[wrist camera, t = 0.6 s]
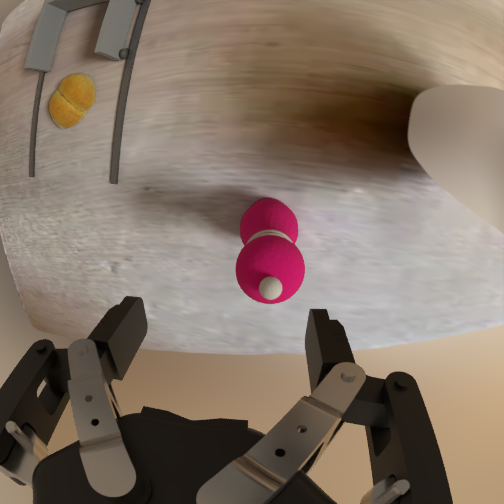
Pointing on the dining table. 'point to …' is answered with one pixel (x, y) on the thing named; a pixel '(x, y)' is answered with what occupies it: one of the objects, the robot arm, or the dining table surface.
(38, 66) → the frame
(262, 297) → the pepper mill
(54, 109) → the bread roll
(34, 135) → the track
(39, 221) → the dining table surface
